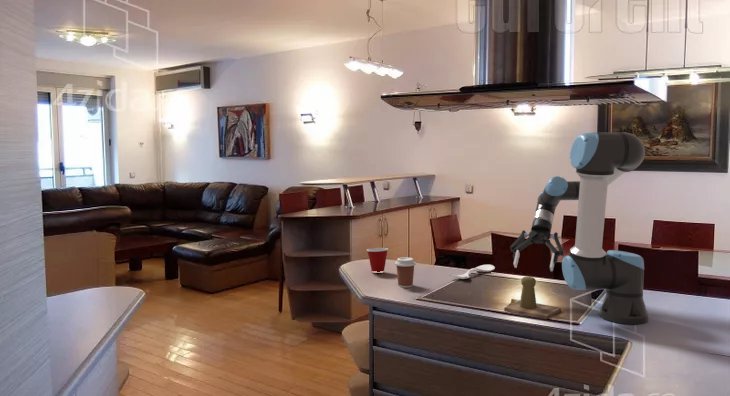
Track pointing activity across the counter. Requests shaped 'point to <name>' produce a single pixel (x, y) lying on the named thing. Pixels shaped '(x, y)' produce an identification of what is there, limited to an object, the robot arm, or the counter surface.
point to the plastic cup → (377, 258)
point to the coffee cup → (405, 271)
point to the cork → (528, 293)
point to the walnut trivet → (533, 310)
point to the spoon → (480, 268)
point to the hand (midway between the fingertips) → (532, 267)
